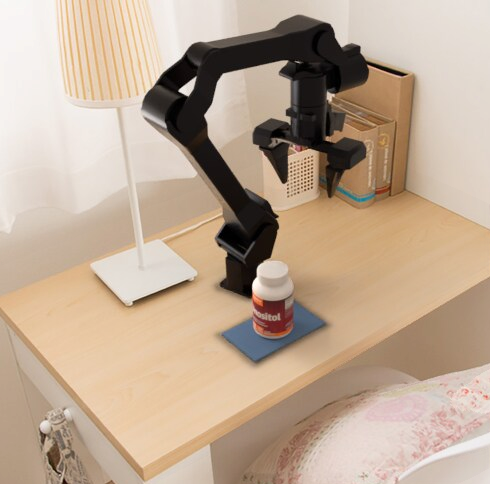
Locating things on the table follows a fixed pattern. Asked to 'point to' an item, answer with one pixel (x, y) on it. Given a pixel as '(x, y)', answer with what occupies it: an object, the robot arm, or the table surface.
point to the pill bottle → (273, 300)
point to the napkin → (263, 347)
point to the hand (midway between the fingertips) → (307, 190)
